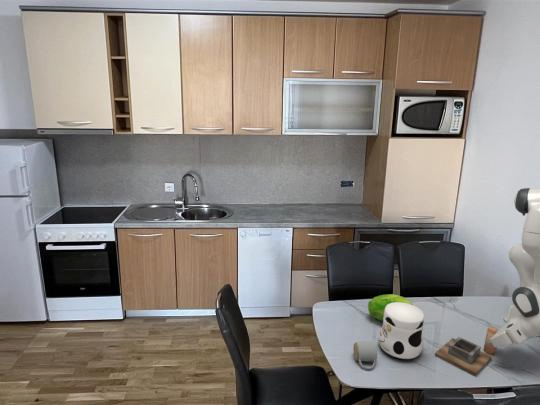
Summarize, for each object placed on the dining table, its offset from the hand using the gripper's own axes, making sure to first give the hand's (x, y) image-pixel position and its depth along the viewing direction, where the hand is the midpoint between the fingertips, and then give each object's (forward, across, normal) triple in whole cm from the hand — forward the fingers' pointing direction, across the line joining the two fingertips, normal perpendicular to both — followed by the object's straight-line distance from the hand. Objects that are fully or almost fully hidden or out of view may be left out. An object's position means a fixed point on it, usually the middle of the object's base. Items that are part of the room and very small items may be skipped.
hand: (490, 338), depth 163 cm
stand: (+8, +13, +1) cm, 15 cm away
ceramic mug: (+25, +46, -16) cm, 55 cm away
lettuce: (+33, +11, -24) cm, 42 cm away
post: (+4, 0, +5) cm, 6 cm away
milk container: (+22, +29, -13) cm, 38 cm away
